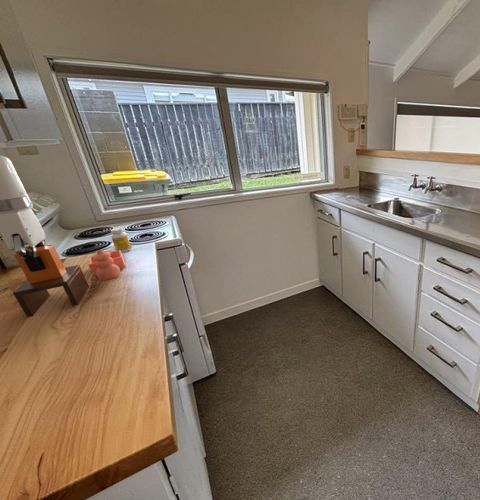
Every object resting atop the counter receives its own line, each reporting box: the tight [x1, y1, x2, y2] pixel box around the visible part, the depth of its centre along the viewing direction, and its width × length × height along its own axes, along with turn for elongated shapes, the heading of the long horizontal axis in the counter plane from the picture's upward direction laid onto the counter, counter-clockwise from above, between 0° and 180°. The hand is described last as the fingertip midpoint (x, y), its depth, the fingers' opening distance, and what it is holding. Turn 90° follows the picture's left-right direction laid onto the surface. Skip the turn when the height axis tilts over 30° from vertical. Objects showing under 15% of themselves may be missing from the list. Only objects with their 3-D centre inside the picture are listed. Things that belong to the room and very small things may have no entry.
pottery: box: [88, 249, 126, 281], centre depth 102 cm, size 18×10×10 cm, turn 39°
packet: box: [13, 244, 66, 283], centre depth 81 cm, size 7×4×9 cm, turn 120°
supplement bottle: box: [110, 227, 133, 253], centre depth 121 cm, size 5×5×10 cm
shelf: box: [12, 264, 90, 318], centre depth 85 cm, size 11×13×8 cm
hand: (42, 265), depth 82 cm, fingers open, 5 cm apart
